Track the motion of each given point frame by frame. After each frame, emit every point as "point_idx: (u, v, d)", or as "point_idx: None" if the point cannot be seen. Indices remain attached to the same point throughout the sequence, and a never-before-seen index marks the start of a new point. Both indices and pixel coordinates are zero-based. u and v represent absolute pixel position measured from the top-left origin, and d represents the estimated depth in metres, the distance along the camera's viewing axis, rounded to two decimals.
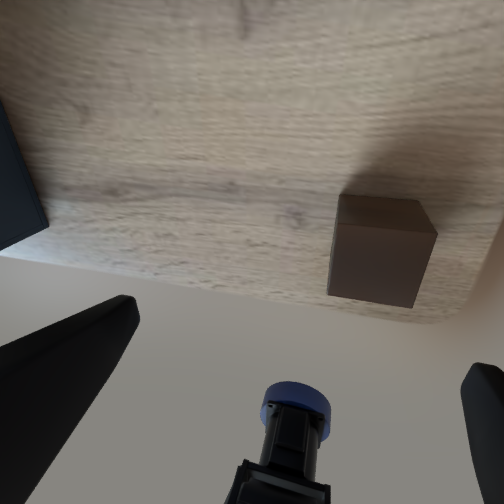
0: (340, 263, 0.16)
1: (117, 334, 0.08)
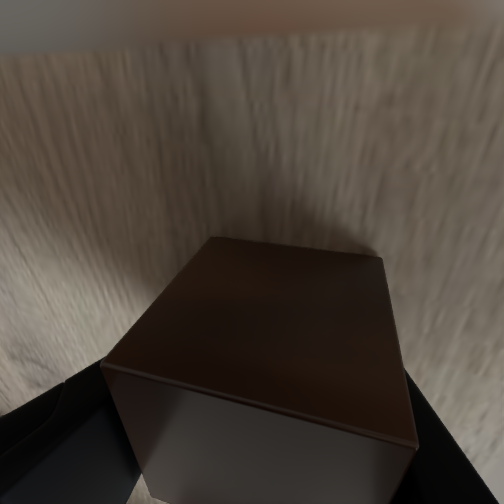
0: None
1: None
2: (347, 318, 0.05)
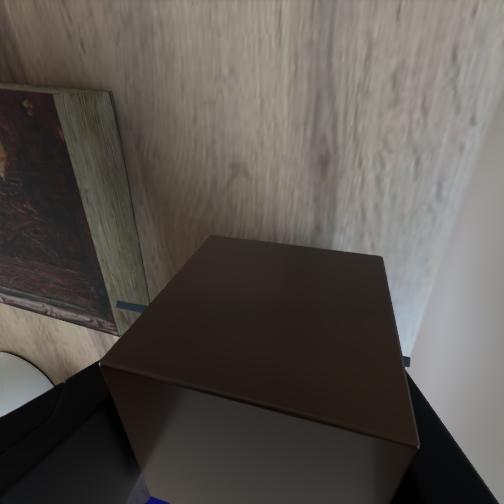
0: None
1: None
2: (346, 316, 0.05)
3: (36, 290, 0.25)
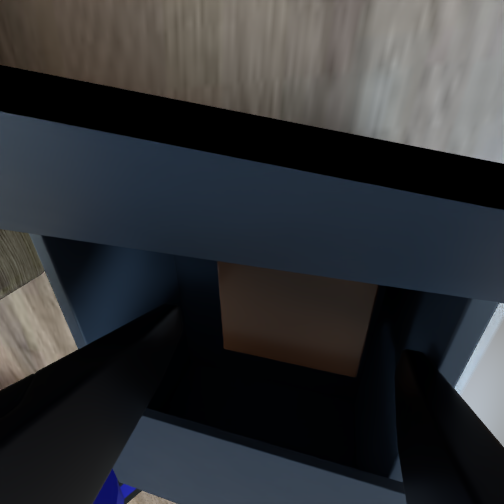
0: (288, 353, 0.10)
1: (164, 345, 0.08)
2: None
3: None
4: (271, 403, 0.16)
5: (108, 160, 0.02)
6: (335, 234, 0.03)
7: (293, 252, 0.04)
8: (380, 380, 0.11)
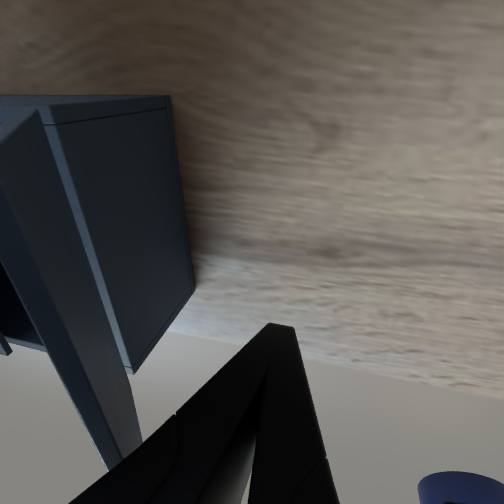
0: None
1: None
2: None
3: None
4: None
5: None
6: None
7: None
8: None
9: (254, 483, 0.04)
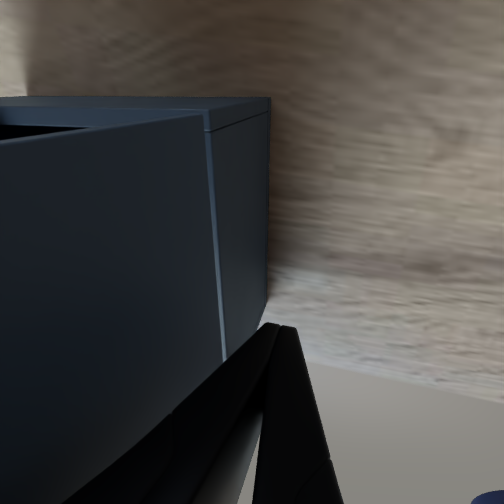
0: None
1: None
2: None
3: None
4: None
5: None
6: None
7: None
8: None
9: (258, 484, 0.04)
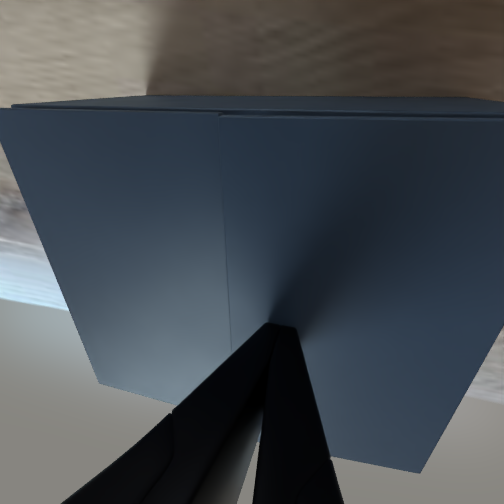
0: None
1: None
2: None
3: None
4: None
5: None
6: None
7: None
8: None
9: (258, 485, 0.04)
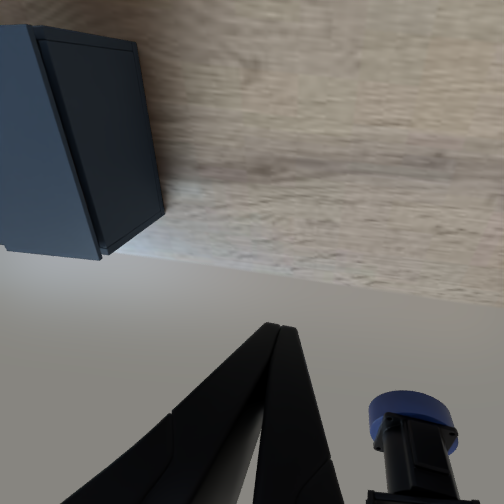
0: None
1: None
2: None
3: None
4: None
5: None
6: None
7: None
8: None
9: (259, 485, 0.04)
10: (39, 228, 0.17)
